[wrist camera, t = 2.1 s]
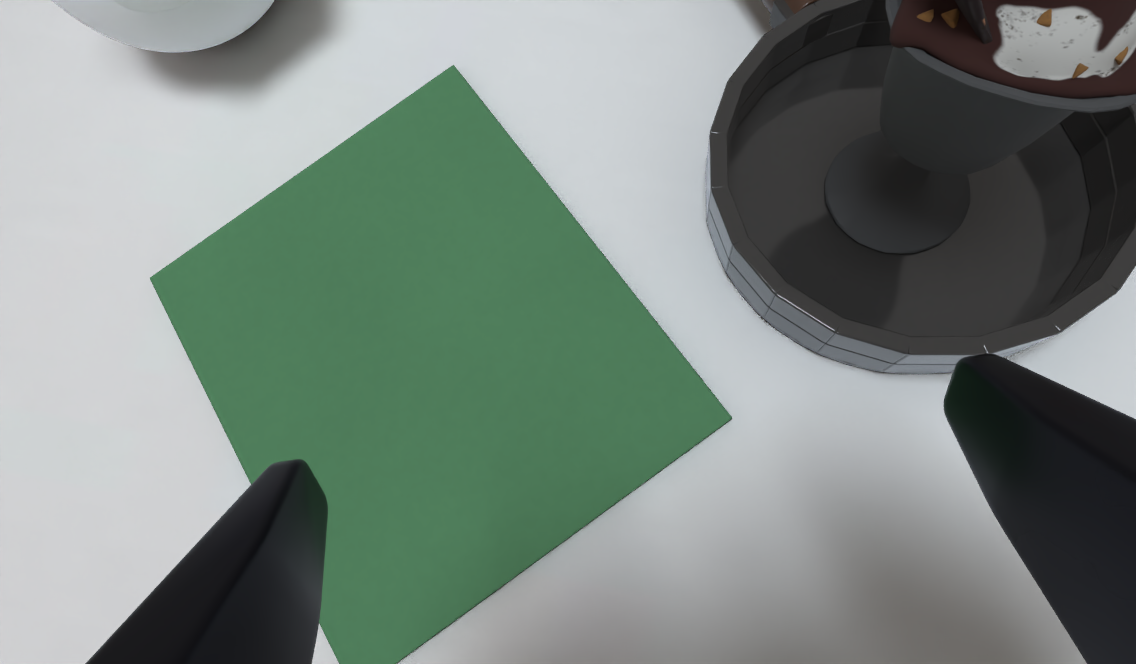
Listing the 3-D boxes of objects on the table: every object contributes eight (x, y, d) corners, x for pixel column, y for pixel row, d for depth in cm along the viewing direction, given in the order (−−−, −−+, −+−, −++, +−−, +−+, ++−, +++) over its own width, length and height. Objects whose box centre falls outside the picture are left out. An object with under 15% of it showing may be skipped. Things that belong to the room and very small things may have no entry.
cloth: (731, 419, 22) (732, 417, 22) (357, 691, 22) (353, 694, 22) (455, 68, 28) (453, 64, 28) (154, 280, 28) (149, 277, 27)
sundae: (1022, 143, 23) (1593, -446, 9) (957, 305, 22) (1490, -66, 8) (841, 87, 25) (1073, -484, 10) (772, 235, 24) (927, -177, 9)
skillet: (1133, 75, 23) (1198, 15, 20) (1061, 429, 21) (1123, 417, 18) (762, 9, 26) (773, -51, 24) (659, 308, 24) (657, 281, 21)
